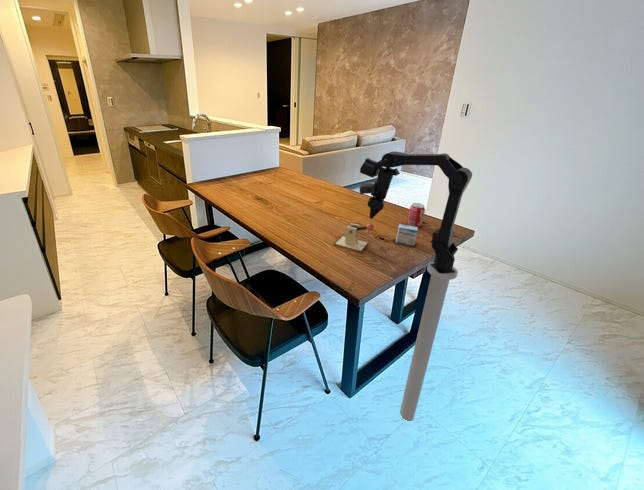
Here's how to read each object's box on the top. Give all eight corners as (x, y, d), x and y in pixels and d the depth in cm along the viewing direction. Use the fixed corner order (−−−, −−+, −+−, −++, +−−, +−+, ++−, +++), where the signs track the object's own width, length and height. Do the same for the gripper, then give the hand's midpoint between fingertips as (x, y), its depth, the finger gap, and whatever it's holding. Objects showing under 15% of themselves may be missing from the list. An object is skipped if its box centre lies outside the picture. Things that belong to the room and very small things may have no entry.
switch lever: (375, 228, 128) (374, 222, 128) (373, 231, 126) (371, 224, 125) (352, 231, 135) (350, 225, 134) (349, 234, 132) (347, 227, 132)
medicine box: (395, 244, 136) (398, 227, 132) (395, 239, 140) (399, 223, 136) (414, 247, 133) (418, 230, 130) (414, 242, 137) (417, 226, 133)
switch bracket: (367, 244, 136) (369, 225, 132) (361, 253, 129) (363, 232, 125) (342, 238, 142) (344, 219, 138) (335, 245, 135) (336, 226, 132)
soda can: (420, 224, 156) (425, 203, 151) (421, 230, 150) (426, 208, 145) (405, 222, 158) (410, 201, 153) (406, 228, 152) (411, 207, 147)
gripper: (367, 170, 133) (357, 200, 141) (360, 183, 118) (350, 217, 125) (392, 176, 130) (381, 207, 137) (389, 191, 114) (376, 225, 122)
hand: (372, 214), depth 131 cm, fingers open, 9 cm apart
